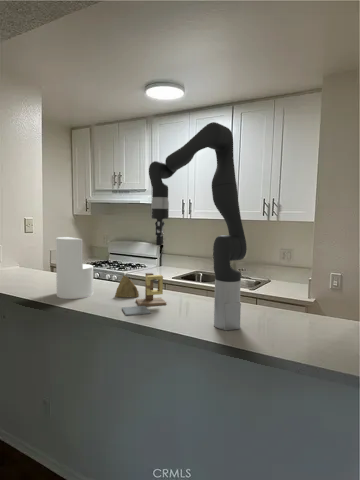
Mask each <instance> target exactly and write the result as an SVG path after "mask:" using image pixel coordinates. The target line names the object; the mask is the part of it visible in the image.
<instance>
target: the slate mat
mask: <svg viewBox="0 0 360 480" xmlns="http://www.w3.org/2000/svg"><path fill="white" fill-rule="evenodd" d="M147 307H148V306H139V305H135V306H134V305H133V306H125V307H121V309H122V311H123V314H124V315H125V316H126V317H127V316H137V315H150V314H152V313H151V311H150V310H149V308H147Z"/></svg>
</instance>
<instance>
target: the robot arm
mask: <svg viewBox="0 0 360 480" xmlns="http://www.w3.org/2000/svg"><path fill="white" fill-rule="evenodd" d="M207 148H209V149H211V150H214V152H215V156H216V168H215V172H214V173H213V176H212V180H211V193H212V194H211V195H212V202H213V204H214V205H215V208H216V209H217V211H218V212H219V213H220V216H222V218H223V219H224V221H225V223H226V227H227V230H228V231H227V232H228V235H227V234H226V235H225V234H224V235H218V236H216V238H215V240H213V245H212V246H213V249H212V252H213V255H212V256H213V270H214V271H213V272H214V299H213V300H214V305H213V306H214V307H213V308H214V309H213V326H214V327H215V328H217V329H219V330H223V331H233V330H240V329H241V314H242V313H241V311H242V309H241V307H242V303H241V283H242V282H241V279H242V274H241V271H239V270H237V269H234V268H232V267H231V262H233V261H241V260H244V258H245V257H246V255H247V250H248V249H247V240H246V234H245V231H244V227H243V222H242V216H241V209H240V202H239V193H238V186H237V185H238V184H237V180H236V179H237V178H236V171H235V159H234V158H235V157H234V137H233V133H232V131H231V129H230V128H229V127H227V126H226V125H223V124H222V123H219V122H216V121H214V122H210V123H207V124H206V125H204V127H202V128H201V129H200V130H199V131H198V132H197V133H196V134H195V135H194V136H193V137H191V139H189V140H188V141H187V142H186V143H185V144H184V145H183V146H181V147H180V148H178V149H177V150H175V151H173V152H172V153H170V154H169V155H168V156H167V157H165V161H164V162H163V161H156V160H154V161H152V162H151V163H150V164H149V166H148V176H149V180H150V184H151V189H152V191H151V192H152V193H151V194H152V196H151V219H154V220H155V219H156V221H155V223H154V229H155V230H154V232H155V237H156V240H155V241H156V242H155V243H156V246H162V244H164V233H165V225H166V224H165V221H164V220H166V219H167V220H168V219H169V211H170V209H169V207H170V206H169V205H170V203H169V202H170V201H169V187H168V185H167V184H165V183H164V182H163V180H166V179H167V180H168V179H170V178H171V177H173V175H174V174H175V173H176V172H177V171H178V170H180V169H181V168H184V167H185V166H186V165H188V164H190V162H191V161H192V160H193V158H194V156H195V155H196V154H197V153H198V152H200V151H202V150H204V149H207Z"/></svg>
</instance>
